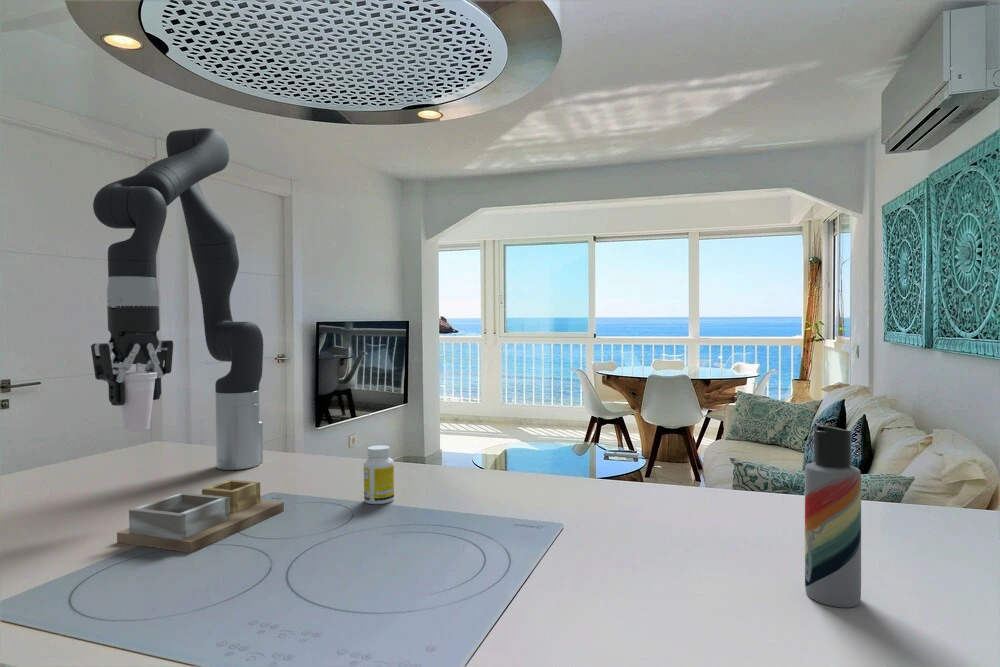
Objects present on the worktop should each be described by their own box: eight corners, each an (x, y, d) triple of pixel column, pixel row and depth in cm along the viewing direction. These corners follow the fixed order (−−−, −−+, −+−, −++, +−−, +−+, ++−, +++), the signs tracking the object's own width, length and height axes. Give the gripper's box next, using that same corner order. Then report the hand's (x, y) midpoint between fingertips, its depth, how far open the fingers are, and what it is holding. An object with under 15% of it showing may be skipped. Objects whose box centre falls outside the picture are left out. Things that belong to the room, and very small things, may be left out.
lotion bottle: (794, 587, 71) (794, 421, 71) (839, 585, 72) (839, 420, 72) (824, 609, 66) (824, 430, 65) (873, 607, 66) (872, 428, 66)
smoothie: (166, 426, 104) (165, 346, 104) (141, 433, 98) (139, 348, 98) (132, 426, 105) (130, 347, 105) (105, 432, 98) (103, 348, 98)
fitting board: (219, 503, 107) (218, 476, 107) (283, 510, 103) (283, 481, 103) (117, 542, 88) (116, 509, 88) (191, 552, 84) (190, 517, 84)
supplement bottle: (399, 497, 110) (399, 445, 110) (384, 506, 105) (384, 451, 105) (374, 495, 112) (373, 443, 112) (358, 503, 107) (357, 449, 107)
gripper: (153, 305, 109) (155, 396, 109) (75, 304, 95) (78, 407, 96) (185, 304, 107) (187, 397, 107) (110, 303, 93) (113, 409, 93)
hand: (136, 402), depth 101 cm, fingers closed on smoothie, 6 cm apart
